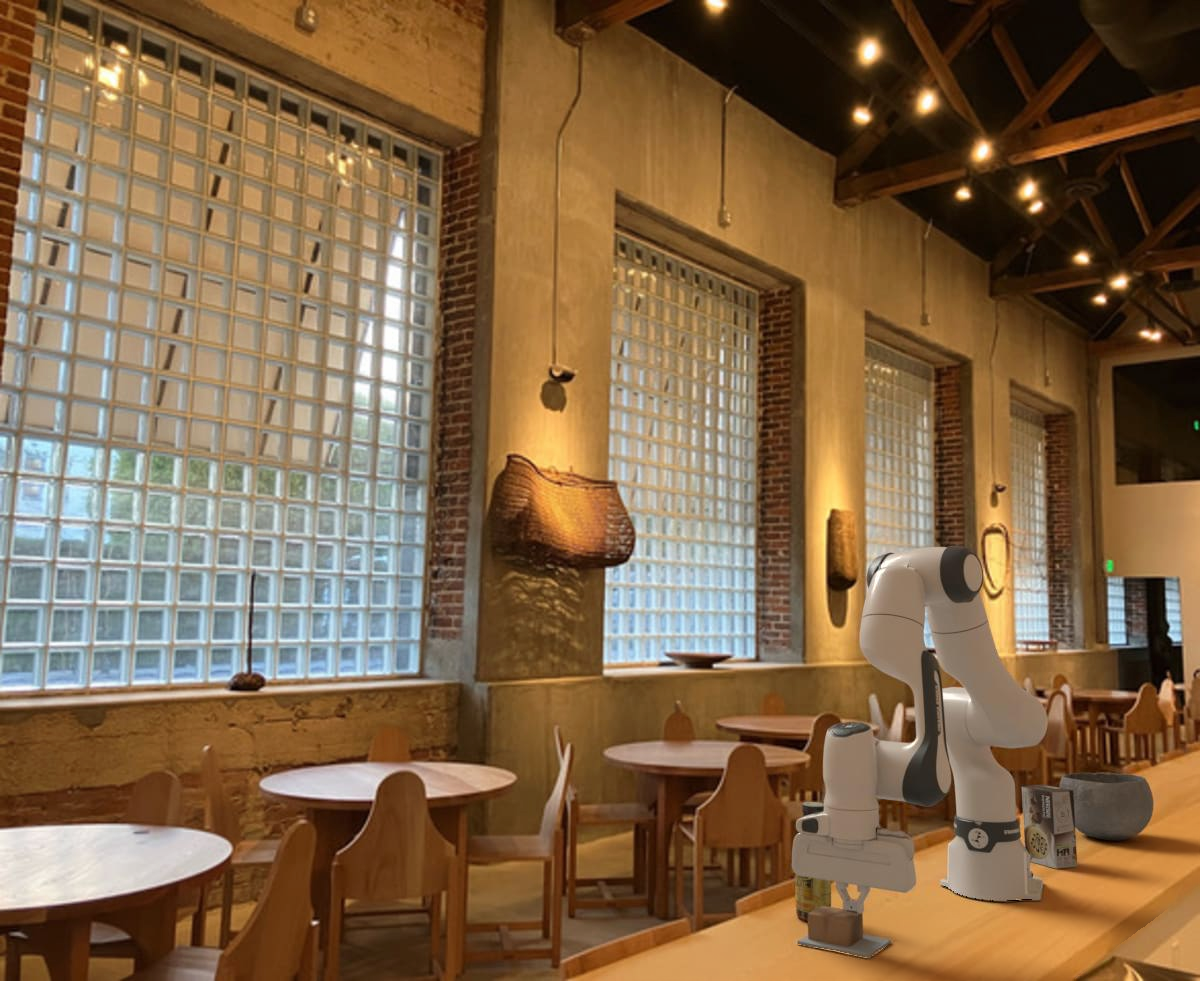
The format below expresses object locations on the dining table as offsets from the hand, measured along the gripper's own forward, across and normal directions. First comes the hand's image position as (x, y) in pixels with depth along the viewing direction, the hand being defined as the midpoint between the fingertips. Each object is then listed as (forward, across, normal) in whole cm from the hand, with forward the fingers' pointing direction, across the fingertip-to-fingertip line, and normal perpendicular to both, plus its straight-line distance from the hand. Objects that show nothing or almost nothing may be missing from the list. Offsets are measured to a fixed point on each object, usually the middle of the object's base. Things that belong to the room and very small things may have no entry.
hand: (853, 911), depth 168 cm
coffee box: (+5, -12, -80) cm, 81 cm away
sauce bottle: (+6, +12, -10) cm, 17 cm away
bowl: (+5, -18, -116) cm, 117 cm away
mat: (+5, +2, 0) cm, 6 cm away
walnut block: (+3, 0, 0) cm, 3 cm away
